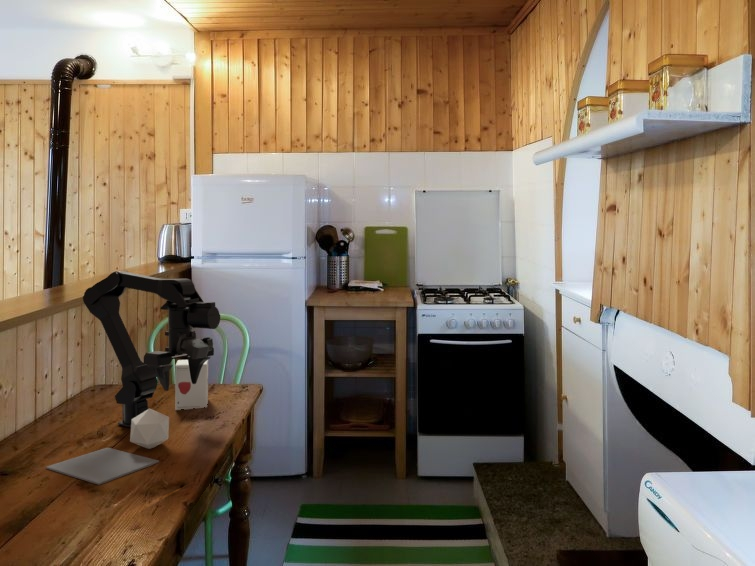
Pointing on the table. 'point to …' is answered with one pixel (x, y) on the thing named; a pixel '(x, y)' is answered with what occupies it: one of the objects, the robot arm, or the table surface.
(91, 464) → the mat
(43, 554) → the table surface
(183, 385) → the supplement box
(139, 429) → the grey faceted block
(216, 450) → the table surface
